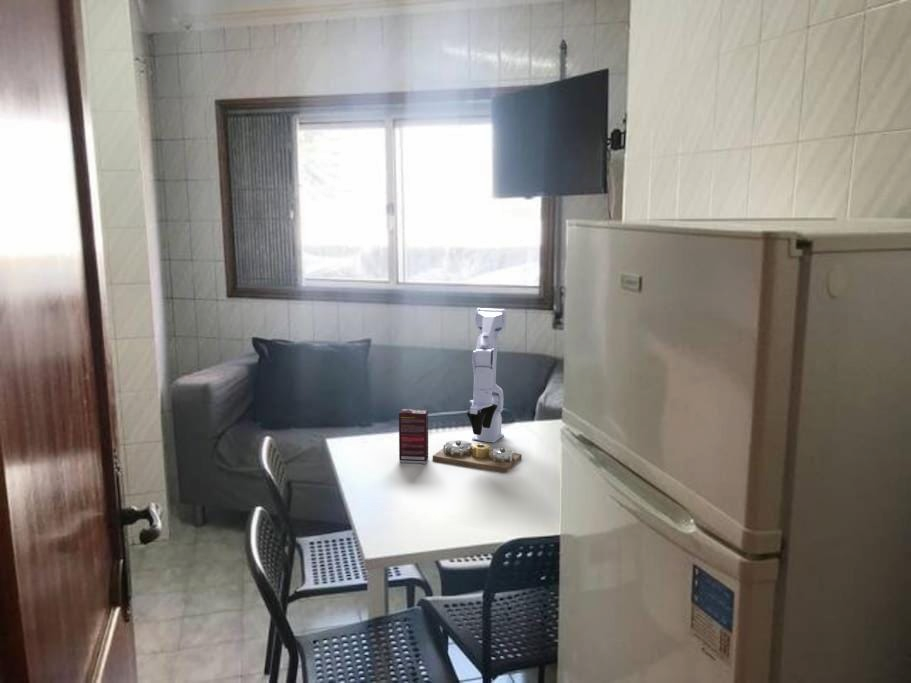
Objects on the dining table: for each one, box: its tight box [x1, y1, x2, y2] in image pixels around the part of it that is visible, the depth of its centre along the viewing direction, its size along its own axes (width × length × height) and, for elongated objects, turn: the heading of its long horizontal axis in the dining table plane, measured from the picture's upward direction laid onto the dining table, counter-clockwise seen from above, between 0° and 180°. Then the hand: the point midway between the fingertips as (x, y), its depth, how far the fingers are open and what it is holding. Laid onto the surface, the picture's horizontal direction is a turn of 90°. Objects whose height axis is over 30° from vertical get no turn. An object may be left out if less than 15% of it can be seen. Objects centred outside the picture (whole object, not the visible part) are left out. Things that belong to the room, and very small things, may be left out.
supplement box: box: [398, 408, 429, 465], centre depth 230 cm, size 9×5×16 cm, turn 84°
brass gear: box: [472, 443, 491, 458], centre depth 232 cm, size 6×6×3 cm
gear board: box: [432, 439, 522, 474], centre depth 233 cm, size 14×24×5 cm, turn 66°
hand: (481, 430), depth 231 cm, fingers open, 7 cm apart
